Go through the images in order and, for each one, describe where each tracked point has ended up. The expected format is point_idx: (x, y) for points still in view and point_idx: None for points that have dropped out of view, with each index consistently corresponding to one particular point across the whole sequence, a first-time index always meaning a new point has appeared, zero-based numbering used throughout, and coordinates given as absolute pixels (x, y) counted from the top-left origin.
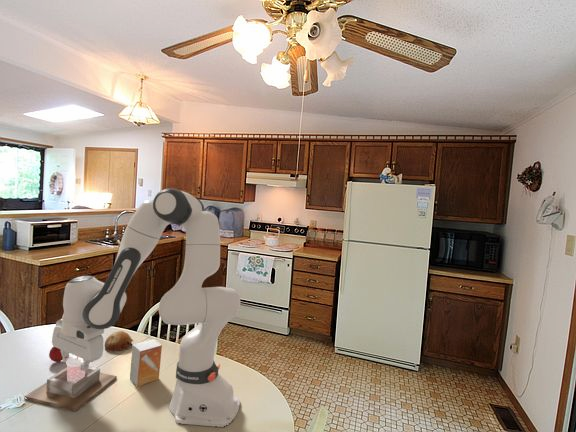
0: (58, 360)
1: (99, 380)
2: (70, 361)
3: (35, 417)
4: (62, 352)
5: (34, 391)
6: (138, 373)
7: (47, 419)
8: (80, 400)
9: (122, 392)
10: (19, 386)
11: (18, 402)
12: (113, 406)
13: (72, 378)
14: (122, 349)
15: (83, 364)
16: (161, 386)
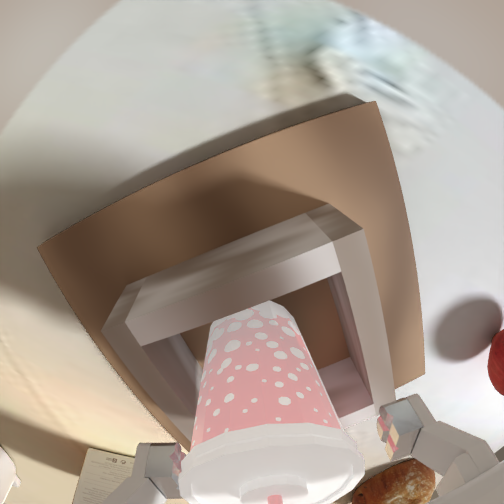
0: (495, 343)
1: None
2: (298, 461)
3: (134, 74)
4: (463, 450)
5: (382, 158)
6: (75, 491)
7: (72, 117)
8: (87, 294)
9: (81, 414)
10: (481, 151)
11: (359, 70)
12: (12, 353)
13: (220, 359)
14: (358, 491)
15: (129, 490)
16: (61, 466)
